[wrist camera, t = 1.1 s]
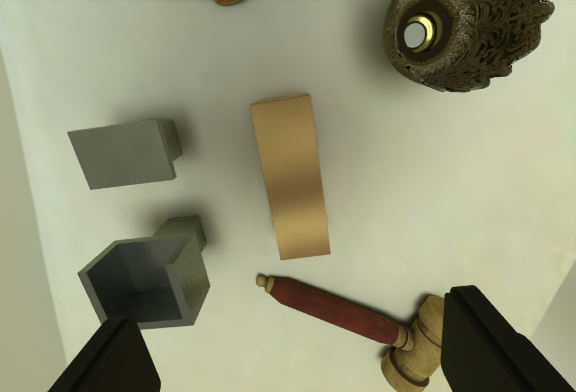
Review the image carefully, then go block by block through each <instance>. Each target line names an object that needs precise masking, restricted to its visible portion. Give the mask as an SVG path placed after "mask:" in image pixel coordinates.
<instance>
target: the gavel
mask: <svg viewBox="0 0 576 392" xmlns="http://www.w3.org/2000/svg"><path fill="white" fill-rule="evenodd" d="M256 284H257V285H258V286H260V287H265V291H266V292H267V293H269V294H270V295H271V296H272V297H274V298H275V299H276V300H277V301H278V302H279V303H281V304H283V305H286V306H288V307H291V308H293V309H296V310H298V311H301V312H303V313H306V314H308V315H311V316H313V317H316V318H319V319H321V320H324V321H326V322H329V323H331V324H334V325H336V326H339V327H341V328H344V329H346V330H349V331H351V332H354V333H357V334H359V335H362V336H364V337H367V338H369V339H372V340H374V341H377V342H379V343H384V344H390V345H393V346H395V347H396V348H394V347H392V348H391V349H390V350H389V351H388V352H387V354H386V355H385V356H384V358H383V359H382V361H381V370H382V373H383V375H384V377H385V378H386V380H387V381H388V383H389V384H390V385H391V386H392V387H393V388H394V389H395V390H396V391H397V392H422V391H423V390H424V389H425V388H426V387H427V385H428V384H429V377H430V376H431V375H432V374H433V372H434V371H435V370H436V369H437V368H438V367H439V365H440V364H441V362H440V357H441V343H442V328H443V313H444V298H442V297H439V296H436V295H430V296H429V297H428V298H427V299H426V301H425V302H424V304H423V305H422V306H421V308H420V309H419V316H420V317H418V318H417V319H416V320H415V322H414V323H413V324H412V326H411V327H410V328H407V327H403V326H401V325H398V324H396V323H394V322H393V321H391V320H389V319H388V318H386V317H384V316H381V315H379V314H376V313H374V312H371V311H369V310H366V309H364V308H361V307H359V306H356V305H354V304H351V303H349V302H346V301H344V300H341V299H339V298H336V297H334V296H331V295H329V294H326V293H324V292H321V291H319V290H316V289H314V288H311V287H309V286H306V285H304V284H301V283H299V282H296V281H294V280H291V279H281V278H273V277H270V278H269V279H268V280H267V279H265V278H264V277H262V276H259V277H258V278H257V279H256Z"/></svg>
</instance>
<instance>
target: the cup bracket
mask: <svg viewBox="0 0 576 392" xmlns="http://www.w3.org/2000/svg"><path fill="white" fill-rule="evenodd" d="M205 245H206V240H205V236H204V232H203V229H202V225H201V221H200V218H199V216H192V217H183V218H174V219H168V220H167V221H166V222H165V223H164V224H163V225H162V226H161V228H160V229H159V230H158V231H157V232H156V233H155V234H154V235H153V236H152V237H144V238H135V239H126V240H117V241H114V242H113V243H111V244H110V245H109V246H108V247H107V248H106V249H105V250H103V251H102V252H101V253H100V254H99V255H98V256H97V257H95V258H94V259H93V260H92V261H91V262H90V263H89V264H87V265H86V266H85V267H84V268H83V269H82V270H81V271H79V272H78V273H77V274H78V276H79V278H80V280H81V282H82V284H83V286H84V289H85V291H86V293H87V295H88V297H89V299H90V301H91V303H92V305H93V308H94V310H95V312H96V314H97V316H98V318H99V320H100V322H101V324H103V322H104V321H105V320H106V319H108V318H110V317H121V316H129V317H131V318H132V320H134V321H136V322H137V324H138V327H139V329H140V330H143V329H155V328H167V327H179V326H191V325H194V323H195V321H196V319H197V316H198V314H199V312H200V309H201V307H202V305H203V302H204V300H205V298H206V295H207V293H208V290H209V288H210V283H209V280H208V276H207V272H206V269H205V265H204V262H203V258H202V255H201V252H202V250H203V249H204V247H205Z"/></svg>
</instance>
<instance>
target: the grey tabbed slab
mask: <svg viewBox="0 0 576 392" xmlns="http://www.w3.org/2000/svg"><path fill="white" fill-rule="evenodd" d="M67 133H68V136H69V138H70V141H71V143H72V146H73V148H74V150H75V153H76V155H77V158H78V160H79V163H80V165H81V168H82V170H83V173H84V175H85V178H86V180H87V183H88V185H89V188H90V190H93V189H101V188H109V187H117V186H125V185H133V184H142V183H150V182H158V181H166V180H173V179H175V178H176V177H177V176H176V173H175V169H174V166H173V162H172V161H173V160H175V159H176V158H178V157H179V156H181V155H182V151H181V147H180V144H179V140H178V136H177V133H176V129H175V125H174V121H173V119H172V120H165V121H161V120H160V119H153V120H146V121H139V122H132V123H125V124H118V125H110V126H103V127H96V128H89V129H82V130H75V131H70V132H67Z"/></svg>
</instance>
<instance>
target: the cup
mask: <svg viewBox="0 0 576 392" xmlns="http://www.w3.org/2000/svg"><path fill="white" fill-rule="evenodd" d="M541 1H542V2H545V3H542V2H540V0H392V1H391V3H390V6H389V9H388V11H387V14H386V18H385V22H384V30H383V40H384V47H385V51H386V54H387V56H388V58H389V60H390V62H391V63H392V65H393V66H394V68H395V69H396V70H397V71H398V72H399V73H401V74H402V75H403V76H405V77H406V78H408V79H410V80H412V81H414V82H417V83H419V84H422V85H425V86H427V87H430V88H433V89H435V90H438V91H441V92H445V91H449V92H469V91H471V89H472V90H477V89H483V88H486V87H488V86H489V85H490V78H494V77H505V76H508V75H509V74H510V73H511V72H512V65H511V64H513V63H514V62H515V61H517V60H519V59H522V58H524V57H525V56H527V55H528V54H530V53H531V52H532V51H533V50H535V49H536V48H537V47H538V45H539V43H540V39H541V23H543V22H545V21H546V20H548V19H549V17H550V16H551V15H552V13H553V12H554V9H555V6H554V4H553V2H550V1H549V0H548V1H547V0H541ZM546 2H548V3H546ZM412 23H420V24H422V25H423V26H424V28H425V30H426V36H425V39H424V41H423V43H422V44H421V45H420V46H418V47H415V48H410V47H408V46H407V45H406V43H405V39H404V31H405V29H406V28H407V27H408V26H409V25H410V24H412ZM509 66H510V67H509Z"/></svg>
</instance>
